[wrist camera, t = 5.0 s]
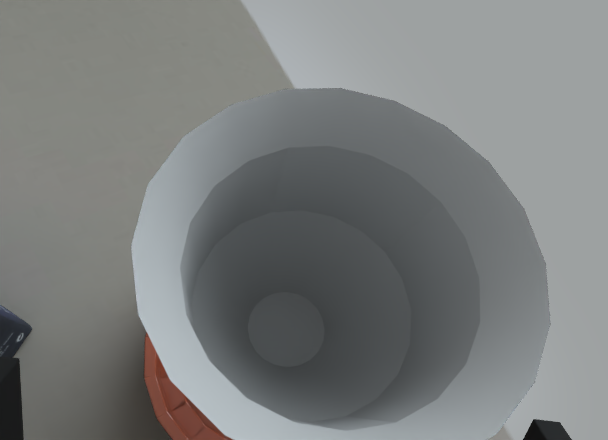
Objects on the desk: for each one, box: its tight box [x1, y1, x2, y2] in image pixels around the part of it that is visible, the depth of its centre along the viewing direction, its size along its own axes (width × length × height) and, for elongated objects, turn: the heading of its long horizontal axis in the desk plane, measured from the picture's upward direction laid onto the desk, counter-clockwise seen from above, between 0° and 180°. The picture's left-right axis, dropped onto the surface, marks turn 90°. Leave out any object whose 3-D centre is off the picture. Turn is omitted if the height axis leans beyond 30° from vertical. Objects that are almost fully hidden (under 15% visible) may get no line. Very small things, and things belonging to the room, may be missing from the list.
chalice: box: [131, 88, 550, 440], centre depth 16 cm, size 7×7×18 cm
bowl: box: [144, 332, 233, 440], centre depth 23 cm, size 11×11×4 cm
